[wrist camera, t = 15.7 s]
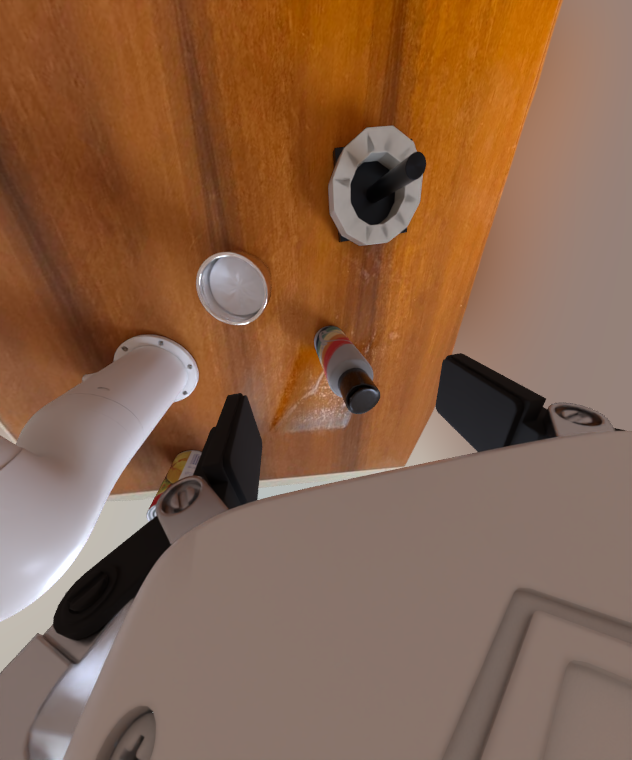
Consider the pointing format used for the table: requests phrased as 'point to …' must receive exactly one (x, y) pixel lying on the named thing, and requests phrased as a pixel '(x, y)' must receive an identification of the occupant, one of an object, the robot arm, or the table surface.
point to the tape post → (380, 186)
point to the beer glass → (234, 286)
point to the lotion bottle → (346, 370)
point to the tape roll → (366, 147)
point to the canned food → (176, 475)
